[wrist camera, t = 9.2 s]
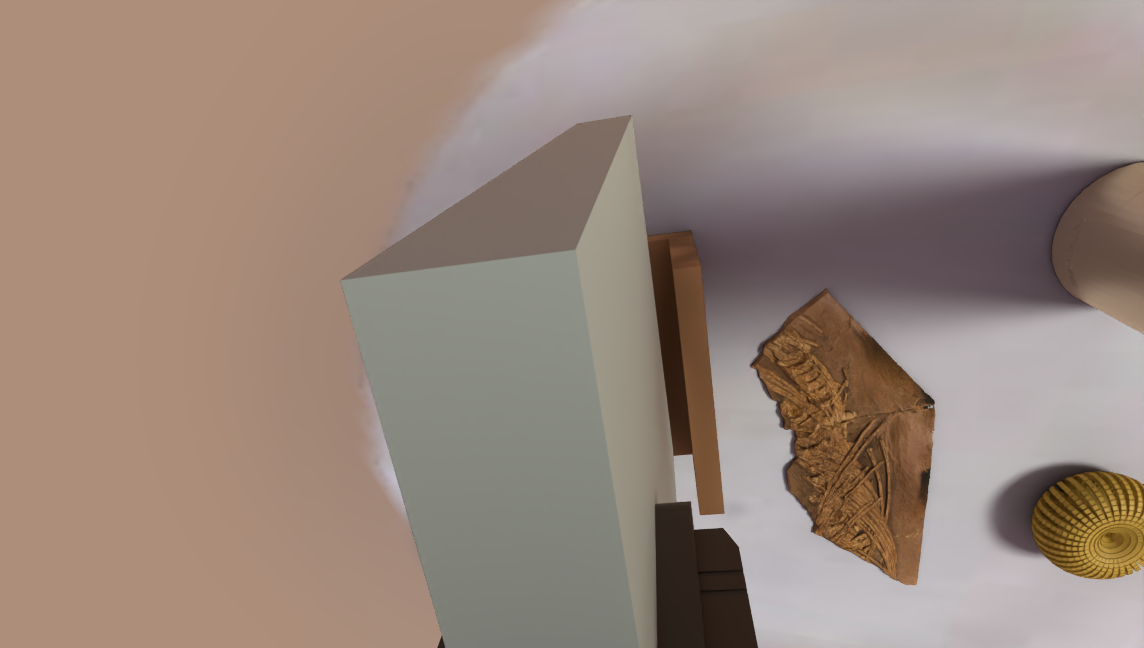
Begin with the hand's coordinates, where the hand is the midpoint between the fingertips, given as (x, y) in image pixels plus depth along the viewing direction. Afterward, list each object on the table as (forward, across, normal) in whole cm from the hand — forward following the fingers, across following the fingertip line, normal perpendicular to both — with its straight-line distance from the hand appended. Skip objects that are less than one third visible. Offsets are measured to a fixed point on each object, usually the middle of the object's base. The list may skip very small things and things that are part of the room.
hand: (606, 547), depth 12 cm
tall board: (+15, 0, 0) cm, 15 cm away
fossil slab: (+34, -14, +20) cm, 41 cm away
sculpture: (+33, -29, +26) cm, 51 cm away
